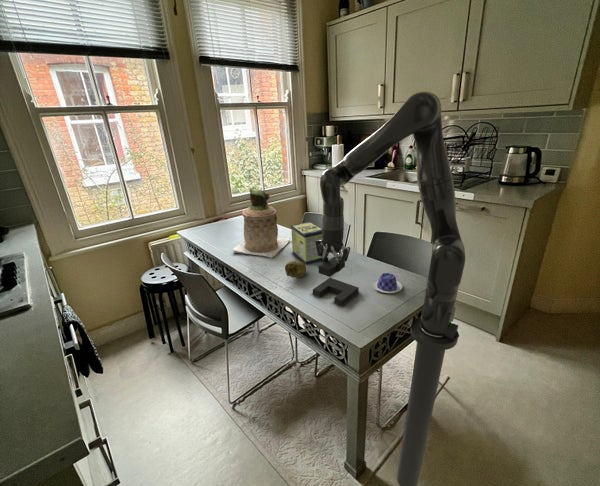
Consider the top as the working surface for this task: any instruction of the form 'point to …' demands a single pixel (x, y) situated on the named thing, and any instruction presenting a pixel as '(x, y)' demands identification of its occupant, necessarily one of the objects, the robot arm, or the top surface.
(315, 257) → the protein box
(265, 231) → the cookie jar
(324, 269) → the black rectangular block
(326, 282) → the base pad
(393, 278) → the pudding
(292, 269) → the potato
